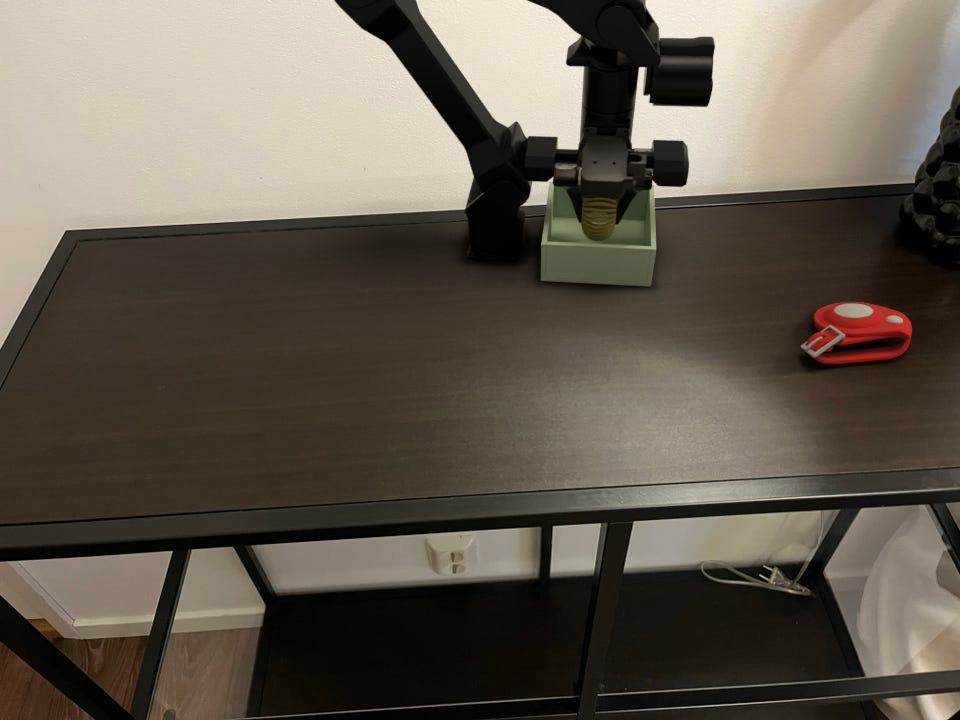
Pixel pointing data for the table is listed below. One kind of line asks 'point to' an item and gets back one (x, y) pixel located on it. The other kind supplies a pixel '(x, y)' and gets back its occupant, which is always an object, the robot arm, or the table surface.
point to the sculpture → (598, 207)
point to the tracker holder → (857, 332)
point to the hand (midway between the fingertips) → (598, 221)
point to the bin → (598, 244)
